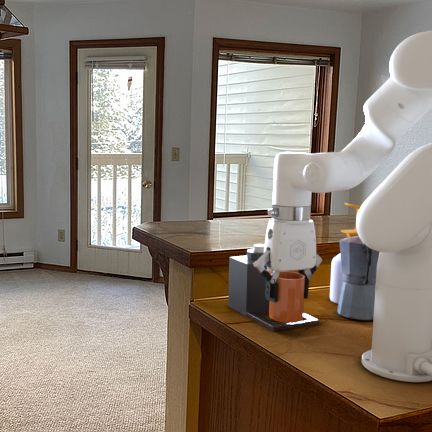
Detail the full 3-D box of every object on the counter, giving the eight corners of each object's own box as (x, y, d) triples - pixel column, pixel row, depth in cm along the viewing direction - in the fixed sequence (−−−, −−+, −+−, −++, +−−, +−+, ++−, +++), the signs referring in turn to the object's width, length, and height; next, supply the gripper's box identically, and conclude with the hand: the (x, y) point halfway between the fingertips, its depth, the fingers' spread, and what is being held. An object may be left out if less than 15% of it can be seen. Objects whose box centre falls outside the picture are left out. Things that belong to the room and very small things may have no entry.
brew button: (270, 253, 129) (270, 246, 129) (258, 254, 128) (258, 247, 128) (262, 250, 132) (262, 243, 132) (250, 251, 131) (251, 244, 131)
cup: (309, 320, 114) (312, 277, 112) (281, 324, 111) (284, 281, 110) (289, 310, 120) (291, 270, 118) (262, 314, 117) (264, 272, 116)
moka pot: (370, 306, 134) (375, 224, 131) (392, 328, 118) (398, 236, 116) (329, 305, 135) (333, 224, 132) (346, 327, 119) (351, 235, 117)
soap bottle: (322, 298, 141) (327, 201, 137) (352, 295, 143) (357, 200, 140) (344, 308, 132) (350, 206, 129) (376, 305, 135) (383, 204, 131)
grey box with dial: (289, 310, 131) (292, 252, 129) (246, 316, 126) (247, 256, 124) (270, 301, 138) (272, 246, 136) (228, 306, 134) (229, 249, 132)
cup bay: (319, 324, 121) (319, 319, 121) (272, 331, 117) (273, 326, 117) (289, 310, 131) (290, 306, 131) (246, 316, 126) (246, 312, 126)
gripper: (265, 218, 105) (261, 308, 108) (338, 214, 112) (332, 299, 115) (243, 213, 112) (240, 298, 115) (313, 209, 119) (309, 289, 121)
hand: (286, 298), depth 115 cm, fingers closed on cup, 6 cm apart
